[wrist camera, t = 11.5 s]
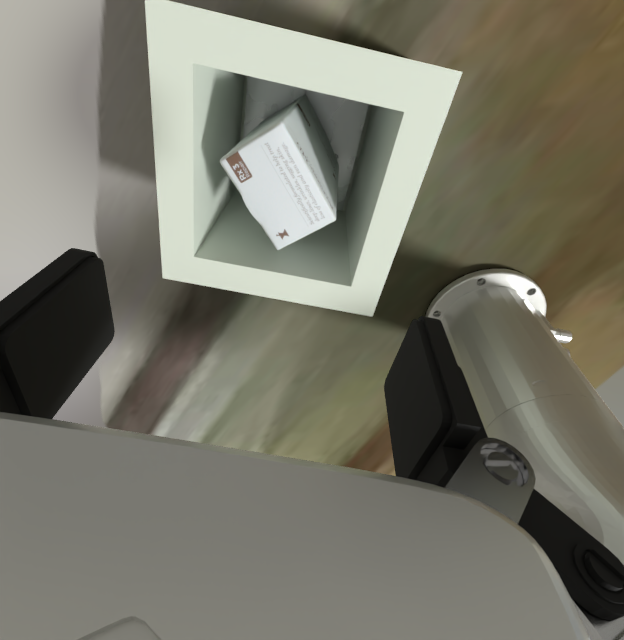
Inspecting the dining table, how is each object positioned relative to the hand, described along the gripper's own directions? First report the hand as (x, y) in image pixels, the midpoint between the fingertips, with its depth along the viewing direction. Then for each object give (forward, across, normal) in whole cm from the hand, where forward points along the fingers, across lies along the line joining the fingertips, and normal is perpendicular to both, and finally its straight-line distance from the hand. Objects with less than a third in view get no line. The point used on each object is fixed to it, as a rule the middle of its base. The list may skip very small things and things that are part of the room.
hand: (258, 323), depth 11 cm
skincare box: (+23, +1, 0) cm, 23 cm away
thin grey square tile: (+24, +1, 0) cm, 24 cm away
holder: (+25, +1, 0) cm, 25 cm away
